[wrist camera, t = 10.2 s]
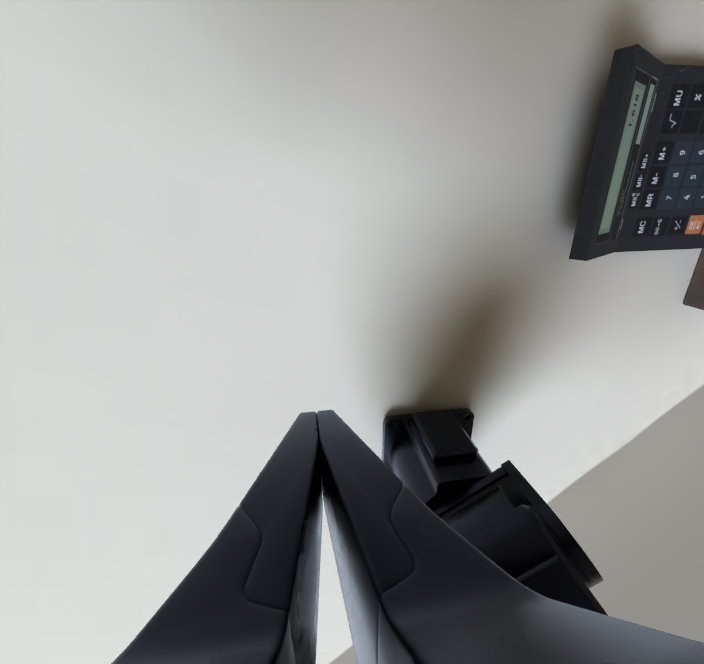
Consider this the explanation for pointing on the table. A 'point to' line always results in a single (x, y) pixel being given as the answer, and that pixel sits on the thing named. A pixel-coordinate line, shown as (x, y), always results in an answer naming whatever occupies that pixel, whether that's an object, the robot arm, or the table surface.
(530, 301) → the table surface
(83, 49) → the table surface
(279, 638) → the robot arm
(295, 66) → the table surface
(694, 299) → the rail
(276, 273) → the table surface
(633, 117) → the calculator
